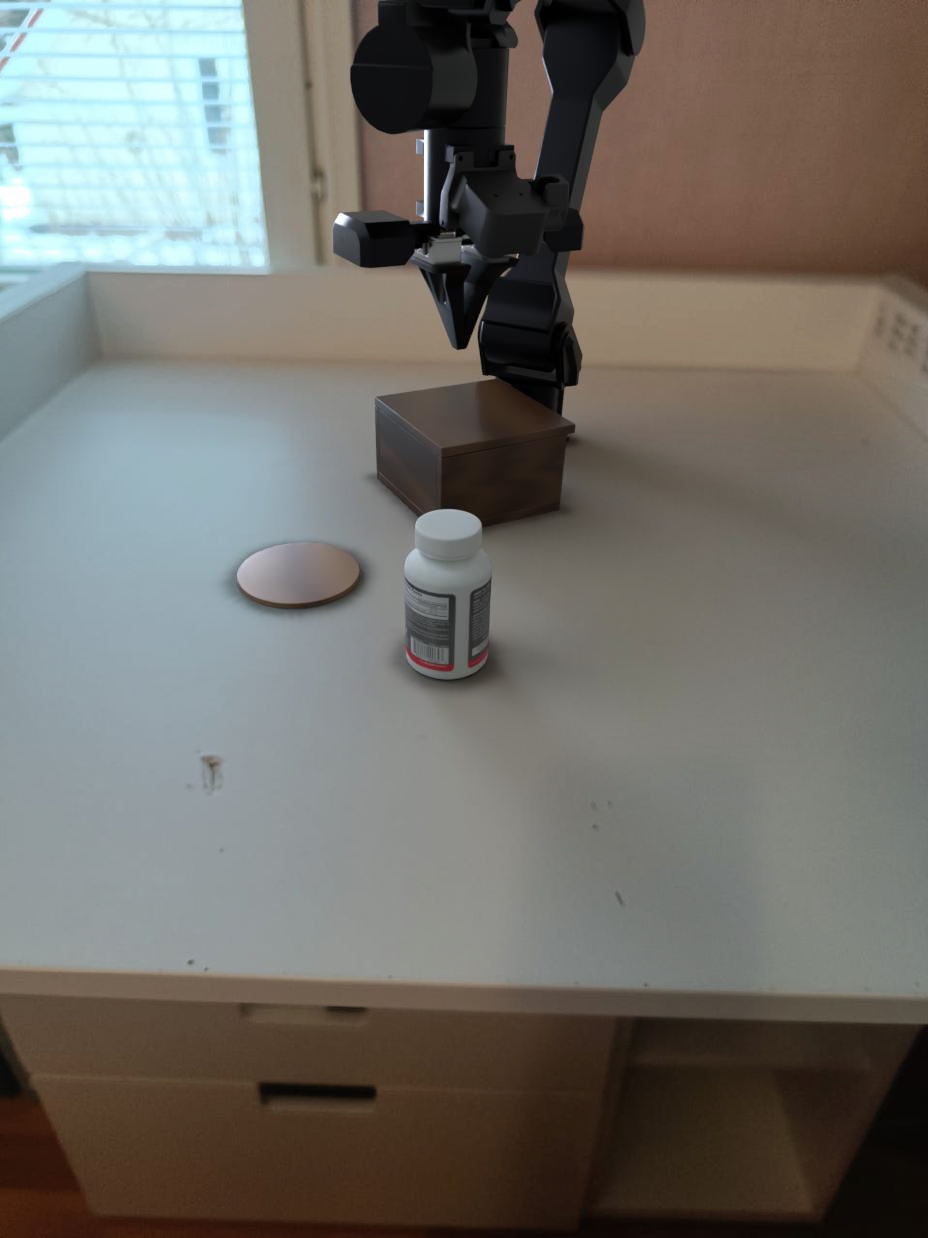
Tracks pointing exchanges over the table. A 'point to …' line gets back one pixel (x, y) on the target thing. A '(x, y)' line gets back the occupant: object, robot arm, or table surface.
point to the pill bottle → (447, 596)
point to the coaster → (298, 575)
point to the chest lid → (472, 417)
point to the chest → (471, 475)
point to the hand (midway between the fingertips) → (459, 348)
